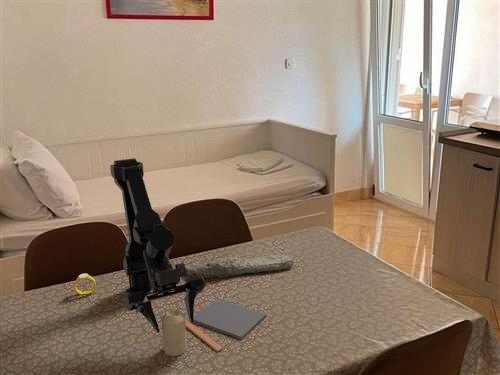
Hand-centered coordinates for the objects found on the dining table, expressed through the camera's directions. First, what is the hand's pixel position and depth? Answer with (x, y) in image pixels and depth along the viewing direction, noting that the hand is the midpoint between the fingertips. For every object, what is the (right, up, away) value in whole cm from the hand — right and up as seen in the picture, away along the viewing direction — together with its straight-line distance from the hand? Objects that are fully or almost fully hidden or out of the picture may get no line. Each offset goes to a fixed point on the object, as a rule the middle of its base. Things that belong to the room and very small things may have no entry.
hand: (175, 327), depth 111 cm
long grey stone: (+14, +6, +43) cm, 45 cm away
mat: (+12, -2, +15) cm, 19 cm away
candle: (0, -6, +3) cm, 7 cm away
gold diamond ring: (-31, +1, +30) cm, 43 cm away
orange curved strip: (+5, -4, +9) cm, 11 cm away
